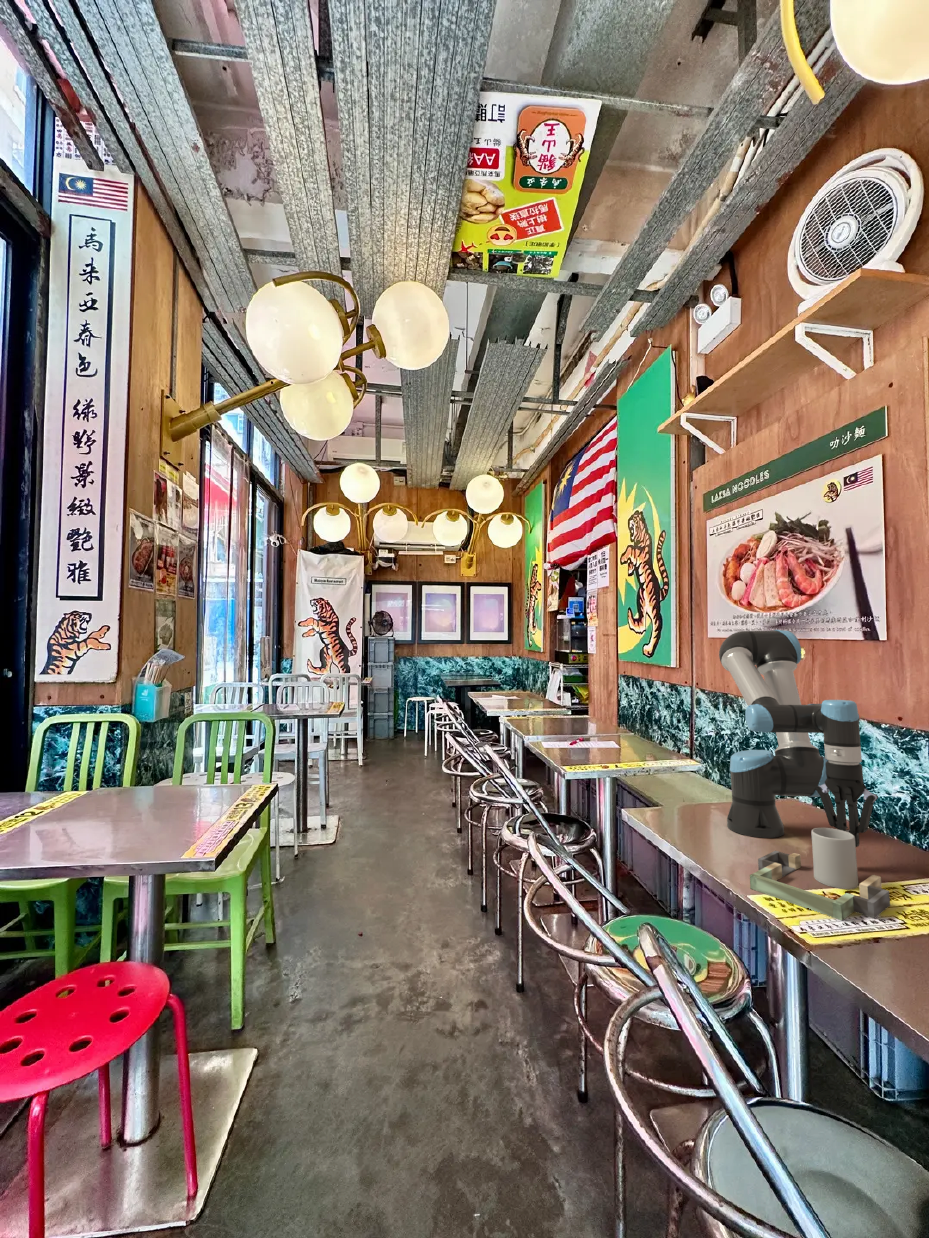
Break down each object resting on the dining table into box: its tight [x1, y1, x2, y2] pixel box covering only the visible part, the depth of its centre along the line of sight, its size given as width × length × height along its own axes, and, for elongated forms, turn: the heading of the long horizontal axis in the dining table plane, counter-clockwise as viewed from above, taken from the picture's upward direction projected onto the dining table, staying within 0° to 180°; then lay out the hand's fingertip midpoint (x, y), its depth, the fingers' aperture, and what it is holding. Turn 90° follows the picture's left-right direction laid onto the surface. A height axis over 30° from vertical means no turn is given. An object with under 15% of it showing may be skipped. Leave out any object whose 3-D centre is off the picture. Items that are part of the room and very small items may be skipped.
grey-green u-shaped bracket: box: [749, 850, 891, 921], centre depth 118 cm, size 22×25×3 cm
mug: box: [811, 827, 859, 890], centre depth 124 cm, size 12×8×11 cm
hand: (850, 858), depth 129 cm, fingers closed
